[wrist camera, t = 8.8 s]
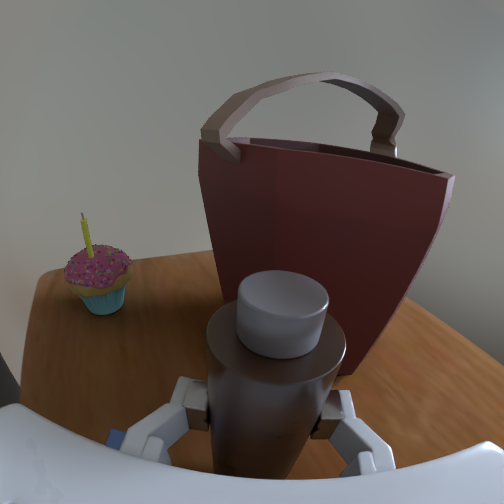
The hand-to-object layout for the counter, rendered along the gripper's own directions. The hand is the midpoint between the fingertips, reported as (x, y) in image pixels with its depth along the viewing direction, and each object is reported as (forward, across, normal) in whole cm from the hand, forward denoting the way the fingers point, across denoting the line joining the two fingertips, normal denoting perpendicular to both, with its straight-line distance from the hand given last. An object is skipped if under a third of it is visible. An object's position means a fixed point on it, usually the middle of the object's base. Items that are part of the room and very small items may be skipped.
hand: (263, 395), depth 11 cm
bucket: (+17, -6, +9) cm, 20 cm away
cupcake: (+16, +19, +9) cm, 26 cm away
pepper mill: (-1, 0, +8) cm, 8 cm away
